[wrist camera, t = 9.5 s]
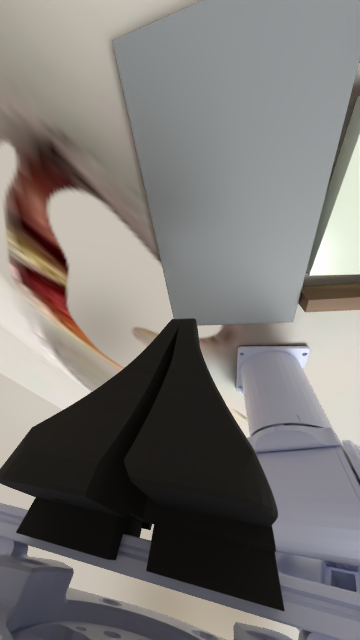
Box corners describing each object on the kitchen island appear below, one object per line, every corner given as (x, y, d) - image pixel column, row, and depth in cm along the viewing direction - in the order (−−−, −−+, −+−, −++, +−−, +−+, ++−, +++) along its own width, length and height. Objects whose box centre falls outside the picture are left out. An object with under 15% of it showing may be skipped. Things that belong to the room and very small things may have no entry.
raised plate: (288, 313, 18) (293, 322, 17) (177, 318, 21) (175, 326, 20) (368, -43, 8) (396, -86, 7) (123, 58, 10) (112, 40, 9)
